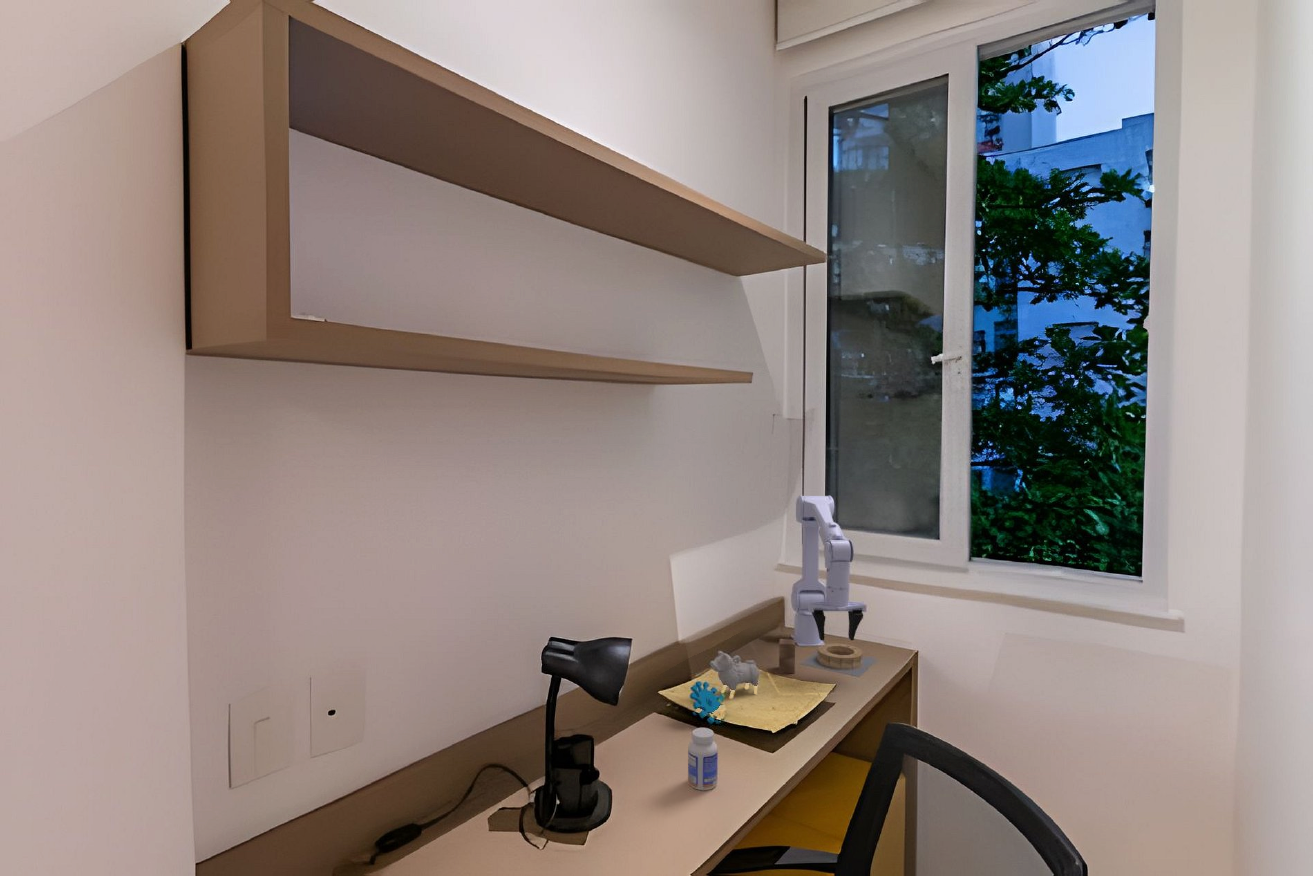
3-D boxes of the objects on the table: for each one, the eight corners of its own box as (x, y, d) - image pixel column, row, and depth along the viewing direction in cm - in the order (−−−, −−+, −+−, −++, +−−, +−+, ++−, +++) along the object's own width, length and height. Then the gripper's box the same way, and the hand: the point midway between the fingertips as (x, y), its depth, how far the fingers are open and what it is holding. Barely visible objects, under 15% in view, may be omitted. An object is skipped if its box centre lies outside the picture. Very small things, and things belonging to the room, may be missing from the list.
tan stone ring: (813, 654, 204) (813, 643, 204) (853, 653, 205) (854, 643, 205) (825, 669, 193) (825, 658, 192) (868, 668, 193) (868, 657, 193)
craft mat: (822, 648, 210) (822, 647, 210) (878, 660, 201) (878, 658, 201) (800, 665, 196) (800, 663, 196) (859, 678, 188) (859, 676, 188)
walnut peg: (778, 674, 190) (779, 643, 190) (779, 668, 194) (779, 638, 194) (794, 675, 189) (795, 644, 189) (794, 669, 193) (795, 639, 193)
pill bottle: (719, 778, 137) (719, 727, 137) (715, 793, 132) (716, 740, 131) (690, 774, 138) (691, 724, 138) (685, 789, 133) (686, 737, 133)
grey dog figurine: (705, 694, 177) (705, 650, 176) (750, 686, 182) (751, 644, 181) (715, 702, 172) (716, 657, 171) (762, 694, 177) (763, 650, 177)
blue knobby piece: (708, 724, 156) (686, 682, 161) (691, 738, 159) (670, 696, 164) (738, 716, 164) (716, 675, 169) (721, 729, 167) (700, 689, 172)
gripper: (813, 590, 182) (812, 644, 183) (871, 590, 183) (869, 644, 184) (806, 583, 189) (805, 635, 190) (861, 583, 190) (860, 635, 191)
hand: (836, 639), depth 187 cm, fingers open, 7 cm apart
